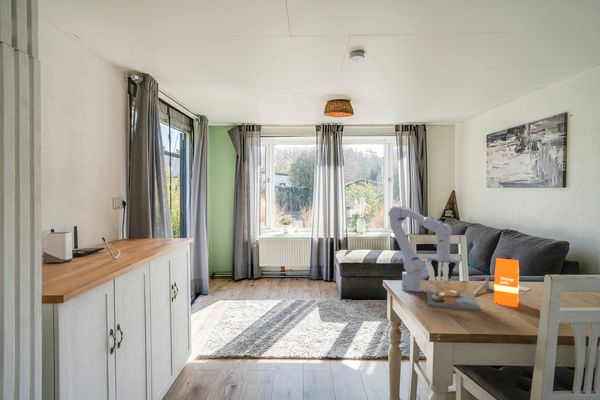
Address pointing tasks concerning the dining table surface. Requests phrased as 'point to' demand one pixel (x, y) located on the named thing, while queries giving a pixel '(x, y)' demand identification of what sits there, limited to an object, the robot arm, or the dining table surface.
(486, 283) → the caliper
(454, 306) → the keeper board
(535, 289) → the dining table surface
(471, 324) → the dining table surface
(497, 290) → the orange juice
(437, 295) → the link
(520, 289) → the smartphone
